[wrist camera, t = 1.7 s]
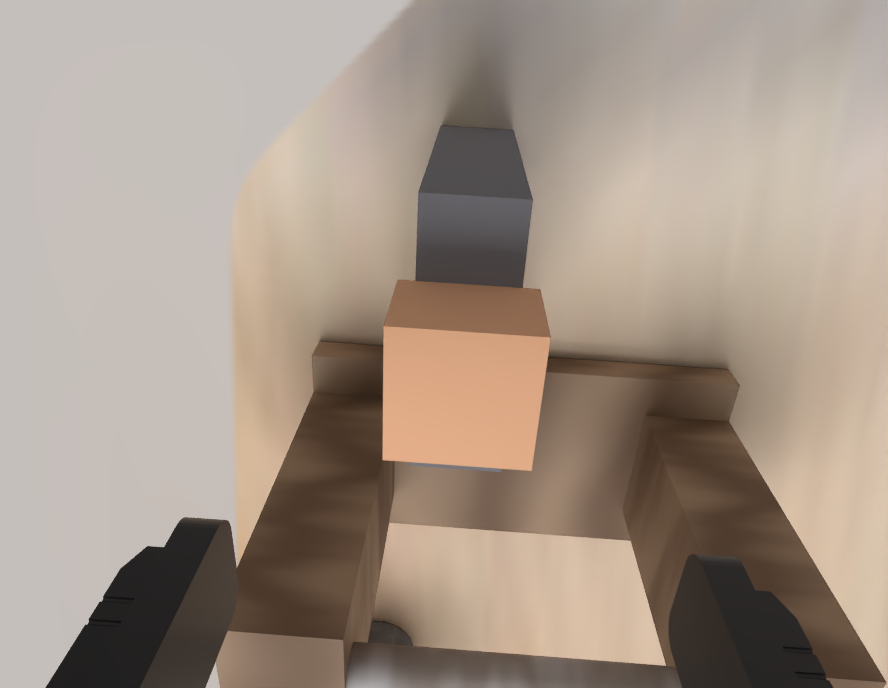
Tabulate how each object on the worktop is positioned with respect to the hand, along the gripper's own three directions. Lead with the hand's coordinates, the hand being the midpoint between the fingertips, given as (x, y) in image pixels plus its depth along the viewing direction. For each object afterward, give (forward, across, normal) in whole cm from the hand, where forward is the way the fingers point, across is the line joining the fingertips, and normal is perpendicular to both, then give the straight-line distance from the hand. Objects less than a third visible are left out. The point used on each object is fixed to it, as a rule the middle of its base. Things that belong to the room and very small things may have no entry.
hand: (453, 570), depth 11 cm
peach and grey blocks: (+20, 0, 0) cm, 20 cm away
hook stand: (+20, -3, +11) cm, 23 cm away
